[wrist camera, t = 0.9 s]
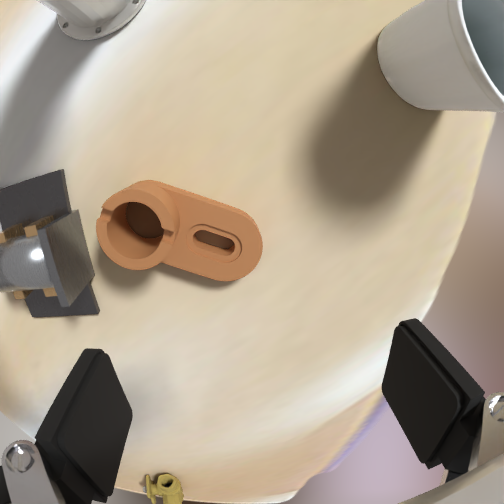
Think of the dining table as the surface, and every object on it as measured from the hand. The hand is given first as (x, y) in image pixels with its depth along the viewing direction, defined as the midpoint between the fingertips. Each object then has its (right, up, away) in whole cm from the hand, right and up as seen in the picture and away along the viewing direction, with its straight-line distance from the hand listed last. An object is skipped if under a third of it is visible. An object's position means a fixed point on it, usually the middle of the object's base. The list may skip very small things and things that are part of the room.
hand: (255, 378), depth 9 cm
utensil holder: (+22, +29, +21) cm, 42 cm away
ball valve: (-22, -54, +48) cm, 76 cm away
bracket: (-8, +7, +27) cm, 29 cm away
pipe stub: (-29, +4, +25) cm, 38 cm away
